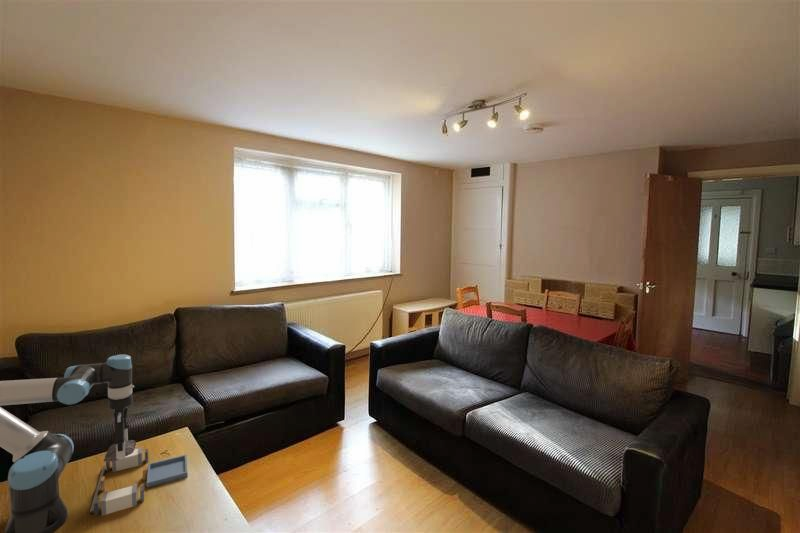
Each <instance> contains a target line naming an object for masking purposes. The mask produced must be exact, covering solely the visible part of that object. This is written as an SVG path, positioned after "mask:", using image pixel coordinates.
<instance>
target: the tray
mask: <svg viewBox="0 0 800 533" xmlns="http://www.w3.org/2000/svg"><path fill="white" fill-rule="evenodd" d="M187 455H188V454H183V455H178V456H175V457H171V458H167V459H163V460H158V461H155V462H150V463H148V466H147V473H146V489H149V488H151V487H155V486H159V485H162V484H166V483H170V482H174V481H177V480H181V479H184V478H188V475H189V474H188V461H187V460H188V458H187V457H188V456H187Z"/></svg>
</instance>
